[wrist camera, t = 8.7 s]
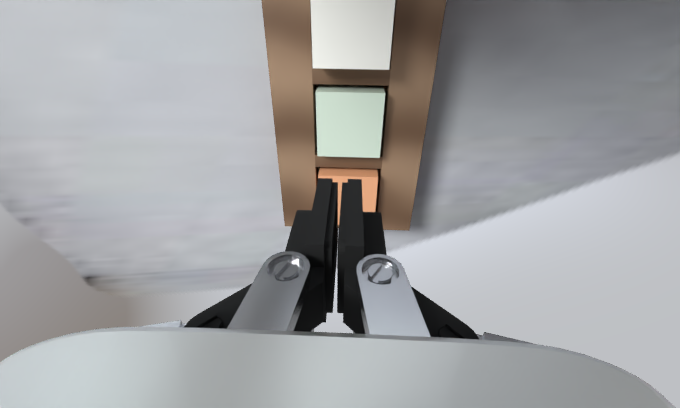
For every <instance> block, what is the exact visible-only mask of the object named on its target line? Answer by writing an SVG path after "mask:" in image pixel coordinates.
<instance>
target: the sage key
mask: <svg viewBox="0 0 680 408" xmlns="http://www.w3.org/2000/svg"><path fill="white" fill-rule="evenodd" d="M384 103H385V91H384V88H383V85H335V84H319V86H318V88H317V90H316V124H317V156H327V157H363V158H380V150H381V138H382V127H383V115H384Z"/></svg>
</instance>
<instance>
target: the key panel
mask: <svg viewBox="0 0 680 408" xmlns="http://www.w3.org/2000/svg"><path fill="white" fill-rule="evenodd" d="M445 6H446V0H395V10H394V21H393V32H392V44H391V55H390V66H389V70H372V69H319V68H313V62H312V32H311V3H310V0H262V9H263V18H264V28H265V38H266V47H267V57H268V67H269V76H270V86H271V96H272V105H273V115H274V125H275V134H276V144H277V154H278V163H279V173H280V183H281V192H282V202H283V212H284V221H285V226H292V225H293V222H294V218H295V215H296V211H297V210H312V207H313V202H314V197H315V192H316V187H317V183H318V174H319V169H320V167H338V168H373V169H377V172H378V185H377V197H376V209H375V212H381V215H382V223H383V230H409V228H410V222H411V216H412V210H413V204H414V198H415V191H416V185H417V179H418V173H419V167H420V160H421V154H422V148H423V142H424V136H425V130H426V123H427V117H428V111H429V105H430V99H431V92H432V86H433V80H434V74H435V68H436V61H437V55H438V49H439V43H440V37H441V31H442V24H443V18H444V12H445ZM319 84H335V85H383V88H384V91H385V103H384V115H383V127H382V138H381V150H380V158H363V157H327V156H317V124H316V90H317V88H318V86H319ZM338 228H339V225H338Z"/></svg>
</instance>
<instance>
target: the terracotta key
mask: <svg viewBox="0 0 680 408" xmlns="http://www.w3.org/2000/svg"><path fill="white" fill-rule="evenodd" d="M318 178H332V179H333V182H338V225H339V220H340V206H341V192H342V182H348V179H362V201H363V212H375V209H376V197H377V185H378V172H377V169H373V168H338V167H320V169H319V174H318Z"/></svg>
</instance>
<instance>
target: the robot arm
mask: <svg viewBox="0 0 680 408" xmlns="http://www.w3.org/2000/svg"><path fill="white" fill-rule="evenodd" d="M337 243H338V294H337V297H338V298H337V301H338V303H337V312H338V313H343V322H344V323H345V324H346V325H347V326H348V327H349V328H350V329H351V330H353V334H352V333H327V332H314V328H315V327H317V326H318V325H319V324H321V323H322V322H326V314H327V313H332V312H333V299H334V285H335V272H336V258H337ZM0 408H676V407H674V406H673V405H672V404H671V403H670V402H669V401H668V400H667V399H666V398H665V397H664V396H663V395H662V394H660V393H659V392H658V391H657V390H656V389H654V388H653V387H652V386H651V385H649V384H648V383H646V382H645V381H643V380H641V379H640V378H639V377H637V376H635V375H633V374H631V373H629V372H627V371H625V370H623V369H621V368H619V367H617V366H614V365H612V364H610V363H607V362H604V361H601V360H598V359H595V358H592V357H590V356H587V355H584V354H580V353H576V352H573V351H569V350H565V349H561V348H555V347H550V346H544V345H537V344H533V343H529V342H524V341H520V340H516V339H512V338H507V337H503V336H499V335H495V334H491V333H486V332H484V334H483V336H482V335H478V334H475V332H474V331H473V330H472V329H471V328H470V327H469V326H467V325H466V324H465V323H463V322H462V321H460V320H459V319H458V318H456V317H455V316H453V315H451V314H450V313H449V312H447V311H446V310H445V309H443V308H442V307H440V306H438V305H437V304H436V303H434V302H433V301H431V300H430V299H429V298H427V297H426V296H424V295H423V294H421V293H420V292H418V291H417V290H415V289H414V288H413V287H411V285H410V283H409V280H408V278H407V275H406V273H405V270H404V268H403V266H402V265H401V263H400V262H398V261H397V260H396V259H394V258H392V257H390V256H387V255H386V247H385V239H384V231H383V223H382V215H381V212H363V201H362V179H348V182H342V192H341V206H340V220H339V235H338V182H333V179H332V178H318V183H317V187H316V192H315V197H314V202H313V207H312V210H297V211H296V215H295V218H294V222H293V225H292V229H291V232H290V236H289V239H288V243H287V247H286V250H285V252H280V253H277V254H275V255H272V256H271V257H270V258H268V259H267V260H266V261H265V263H264V264H263V266H262V268H261V269H260V271H259V273H258V275H257V276H256V278H255V280H254V282H253V283H252V284H250V285H248V286H247V287H245V288H243V289H241V290H240V291H238V292H236V293H234V294H233V295H231V296H229V297H227V298H226V299H224V300H222V301H220V302H219V303H217V304H215V305H213V306H212V307H210V308H208V309H206V310H205V311H203V312H201V313H199V314H198V315H196V316H195V317H193V318H192V319H191V320H190V321H189V322H188V323H184V324H182V321H181V320H178V321H172V322H166V323H159V324H153V325H147V326H140V327H116V328H105V329H95V330H89V331H83V332H77V333H72V334H68V335H64V336H60V337H56V338H53V339H49V340H46V341H43V342H40V343H37V344H34V345H32V346H30V347H27V348H25V349H22V350H20V351H18V352H17V353H15V354H13V355H11V356H9V357H7V358H6V359H4V360H3V361H1V362H0Z"/></svg>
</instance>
